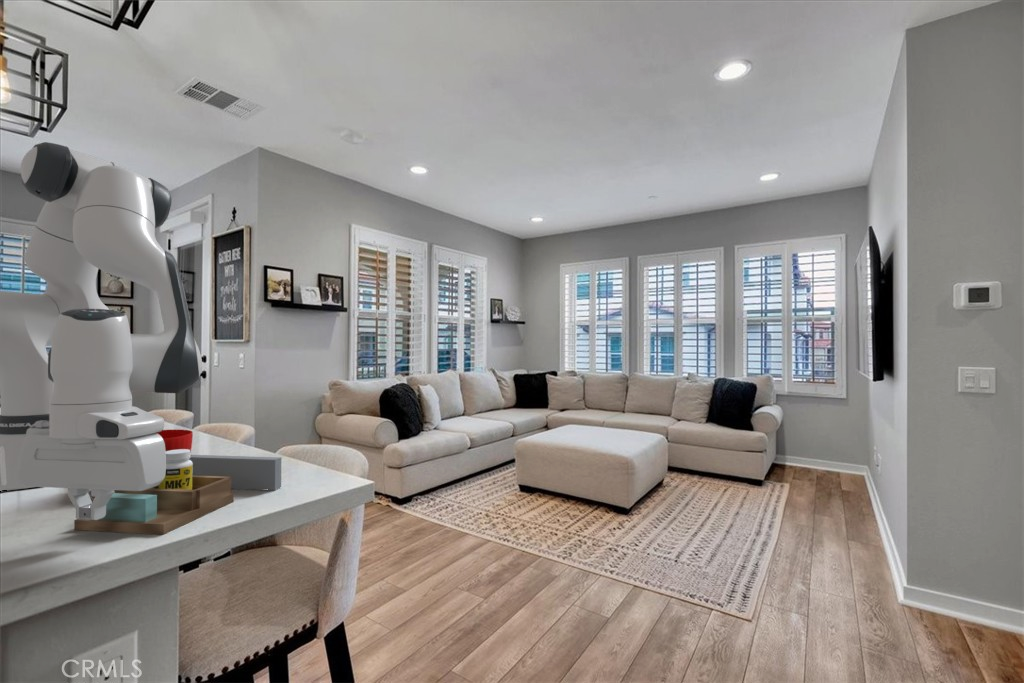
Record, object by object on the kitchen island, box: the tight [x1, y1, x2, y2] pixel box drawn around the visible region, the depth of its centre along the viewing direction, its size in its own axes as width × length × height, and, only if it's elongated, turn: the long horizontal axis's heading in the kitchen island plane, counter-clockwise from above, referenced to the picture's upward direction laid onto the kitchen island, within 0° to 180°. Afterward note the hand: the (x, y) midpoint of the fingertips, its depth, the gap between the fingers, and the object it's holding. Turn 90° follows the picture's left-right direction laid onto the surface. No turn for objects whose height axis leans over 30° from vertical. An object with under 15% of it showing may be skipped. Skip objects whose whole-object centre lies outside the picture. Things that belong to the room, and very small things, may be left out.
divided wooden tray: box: [73, 475, 235, 535], centre depth 79 cm, size 15×15×5 cm
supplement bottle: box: [159, 449, 193, 490], centre depth 82 cm, size 5×5×8 cm
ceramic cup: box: [156, 429, 193, 454], centre depth 97 cm, size 13×17×10 cm
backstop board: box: [189, 454, 282, 491], centre depth 94 cm, size 20×2×6 cm, turn 84°
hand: (90, 518), depth 67 cm, fingers closed
